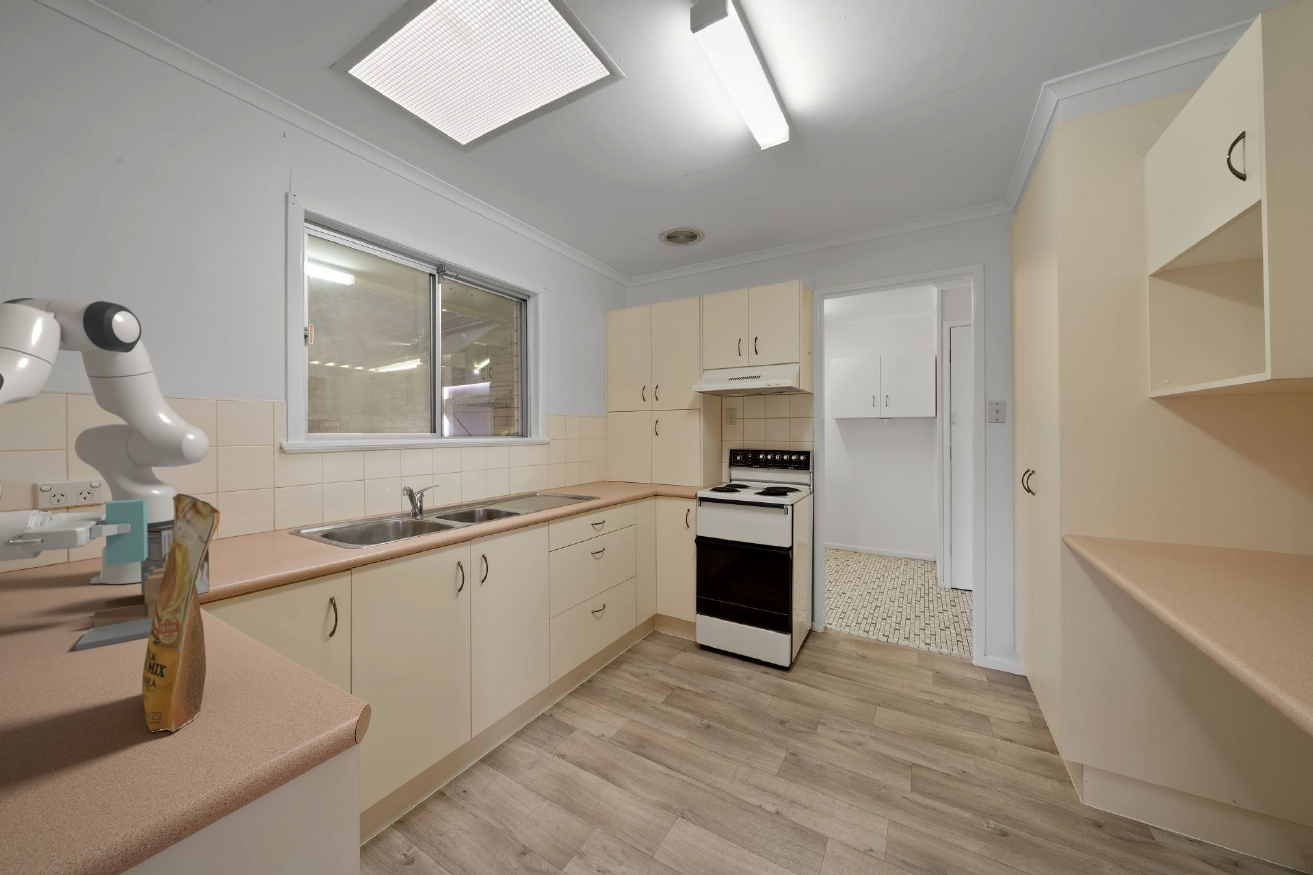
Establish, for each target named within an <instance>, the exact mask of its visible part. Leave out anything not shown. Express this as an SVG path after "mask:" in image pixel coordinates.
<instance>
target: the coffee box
mask: <svg viewBox="0 0 1313 875" xmlns="http://www.w3.org/2000/svg"><path fill="white" fill-rule="evenodd" d="M173 527H174V525H167V526H161V527H155V528H149V529H147V540H148V557H147V558H146V559H145V561H141V582H140V584H141V586H140V588H141V595H143V594H145V580H144V581H143V575H144V574H145V573H146V571H147V570H148V569H149V568H150V567H151V566H153V565H155V569H159V568H166V563H167V559H168V555H169V550H170V547H171V543H172V536H173ZM209 557H210V550H209V546H208V549H207V551H206V554H205V557H204V559H203V562H202V564H201V567H200V569H199V572H198V574H197V578H196V582H195V584H196V588H197V592H198V595H201V594H205V593H207V592H210V590H211V589H210V560H209Z"/></svg>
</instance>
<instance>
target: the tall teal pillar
mask: <svg viewBox="0 0 1313 875" xmlns="http://www.w3.org/2000/svg"><path fill="white" fill-rule="evenodd" d="M105 513H106V525H113V524H120V523H131V524H132V530H131V531H130V532H128V533H121V534H114V535H109V536H105V537H106V538H105V546H106V565H114V564H122V563H131V562H139V561H145V559H146V558H147V557H148V540H147V499H137V500H121V501H112V500H111V501H108V502H106V503H105Z"/></svg>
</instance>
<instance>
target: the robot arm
mask: <svg viewBox="0 0 1313 875" xmlns="http://www.w3.org/2000/svg"><path fill="white" fill-rule="evenodd" d="M141 337H142V326H141V323H140V320H139V319H138V317H137V316H136V315H135V313H133V311H131V310H130V309H129V308H128V307H126V306H123V305H122V304H118V303H114V302H110V301H104V300H98V301H95V300H94V301H93V300H88V299H81V298H80V299H78V298H70V297H69V298H67V297H66V298H65V297H63V298H31V297H21V298H14V299H10V300H5V301H3V302H2V303H0V406H2V405H5V404H7V405H10V404H17V403H22V402H26V401H30V400H32V399H35V398H36V397H37V396H38V395H40V393H41V392H42V390H43V389H44V387H45V386H46V385H47V383H48V382H49V379H50V377H51V375H52V373H53V370H54V368H55V364H56V362H57V358H58V354H59V351H65V352H69V351H70V352H80V353H81V355H82V356H81V357H82V362H83V365H84V370H85V373H86V375H87V378H88V381H89V384H90V386H91V389H92V393H93V396H94V398H95V402H96V404H97V405H98V406H99V407H100V408H101V409H102V410H103V411H106V412H107V413H110V414H112V415H115V416H117V417H119V418H120V419H121V420H123V421H124V422H126V423H123V424H120V423H119V424H118V423H117V424H106V425H105V424H104V425H98V426H92V427H89V428H86V429H84V430H83V431H80V433H79V435H77V438H76V439H75V442H74V451H75V454H76V455H77V457H78V458H79V459H80V460H81V461H82V462H83V463H84V464H86V465H89V466H90V467H91V468H93V469H95V471H97V473H99V475H101V477H102V478H103V480H104V481H105V482H106V485H107V486H108V488H109V491H110V494H111V499H112V500H111V501H121V500H137V499H147V529H149V528H155V527H161V526H167V525H174V511H175V510H174V501H173V497H174V496H176V495H177V492H176V489H175V488H174V487H173V485H171V484H169V483H168V482H167V483H166V482H164V481H162V480H160V479H159V478H158V477H157V476H156V475H155V474H154V472H153V469H152V468H159V467H160V468H169V467H171V468H173V467H176V468H177V467H181V466H186V465H188V466H189V465H193V464H198V463H200V462H202V461H203V459H205V458H206V457H207V455H208V453H209V452H210V451H209V450H210V447H211V446H210V440H209V438H208V436H207V435H206V433H205V432H204V431H203V430H202V429H200V428H199V427H196V426H195V425H193V424H191V423H189V422H187V421H186V420H185V419H183V418H182V417H180V416H179V414H178V413H176V411H174V410H173V409H172V407H171V406H170V405H169V403H168V402H167V400H166V399H165V397H164V395H163V392H162V390H161V386H160V383H159V381H158V378H157V375H156V372H155V368H154V364H153V362H152V360H151V359H152V358H151V357H150V354H149V352H148V351H147V348H146V346H145V344H144V342H143V341H142V339H141ZM2 493H3V486H2V483H1V482H0V499H1V497H2ZM131 530H132V524H131V523H120V524H113V525H106V512H99V511H98V512H96V511H95V512H88V511H87V512H56V513H53V512H52V511H51V510H39V509H27V510H14V511H12V510H11V511H0V563H1V562H11V561H17V560H28V559H29V560H30V559H36V558H38V557H39V556H41V553H42V551H43V552H45V551H56V550H57V551H58V550H68V549H69V550H70V549H76V548H82V547H86V545H88V544H90V543H91V542H92V541H94V540H95V539H97V538H102V537H103V538H104V537H106V536H109V535H114V534H121V533H128V532H130V531H131ZM100 556H101V557H100V558H101V559H100V574H98V575H96V576H94V577H92V578H90V581H89V584H106V585H121V584H125V585H126V584H135V583H141V561H139V562H131V563H122V564H114V565H106V545H105V546H104V547H102V549H101V555H100Z"/></svg>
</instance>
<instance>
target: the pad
mask: <svg viewBox="0 0 1313 875" xmlns="http://www.w3.org/2000/svg"><path fill="white" fill-rule="evenodd" d="M152 621H153V618H148V619H142V620H136V621H130V622H124V623H118V624H113V625H107V626H101V627H95V626H94V627H91V628H88V630H87V631H86V633H85V634H84V635H83V636H82V637H81V638H80V640H79V641H77V643H76V644H75V651H76V652H79V651H81V650H82V651H83V650H88V649H93V648H98V647H103V646H104V647H105V646H109V645H115V644H121V643H125V642H129V641H136V640H140V639H141V640H142V639H146V638H149V635H150V630H151V626H152Z"/></svg>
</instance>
